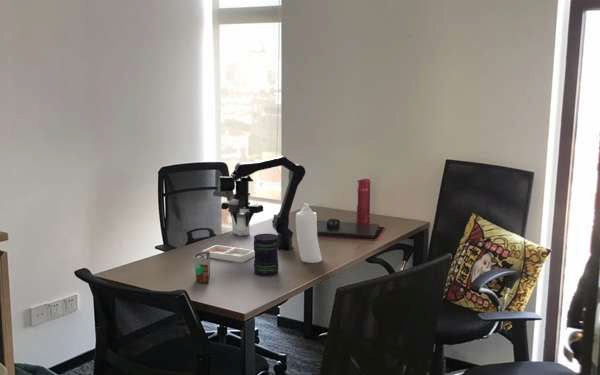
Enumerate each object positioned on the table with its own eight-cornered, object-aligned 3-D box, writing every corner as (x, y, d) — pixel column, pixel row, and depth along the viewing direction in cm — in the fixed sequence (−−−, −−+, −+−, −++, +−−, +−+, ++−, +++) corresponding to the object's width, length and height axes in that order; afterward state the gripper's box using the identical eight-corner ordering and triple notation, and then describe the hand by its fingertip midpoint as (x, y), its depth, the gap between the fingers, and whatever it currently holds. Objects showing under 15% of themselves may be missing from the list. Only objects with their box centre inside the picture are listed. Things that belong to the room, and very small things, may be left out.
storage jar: (262, 267, 252) (262, 232, 250) (283, 271, 248) (283, 235, 245) (248, 274, 244) (248, 237, 241) (269, 278, 239) (269, 241, 236)
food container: (194, 275, 243) (193, 250, 241) (210, 274, 243) (209, 250, 241) (191, 285, 230) (191, 259, 229) (208, 285, 231) (207, 259, 229)
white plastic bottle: (317, 265, 256) (317, 206, 251) (292, 263, 259) (293, 205, 254) (324, 257, 267) (325, 201, 262) (300, 255, 270) (301, 199, 265)
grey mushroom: (249, 228, 275) (249, 213, 274) (244, 231, 271) (244, 215, 269) (240, 227, 277) (240, 212, 276) (234, 229, 273) (234, 214, 272)
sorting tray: (255, 255, 269) (255, 250, 268) (242, 262, 259) (242, 256, 259) (216, 250, 278) (216, 244, 277) (202, 256, 268) (201, 250, 268)
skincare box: (249, 234, 305) (249, 205, 303) (239, 236, 302) (238, 206, 300) (241, 231, 312) (241, 202, 310) (231, 232, 309) (230, 203, 306)
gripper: (214, 192, 268) (214, 227, 271) (250, 196, 260) (250, 232, 262) (228, 188, 278) (228, 222, 280) (264, 192, 270) (263, 227, 272)
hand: (242, 225), depth 274 cm, fingers closed on grey mushroom, 5 cm apart
